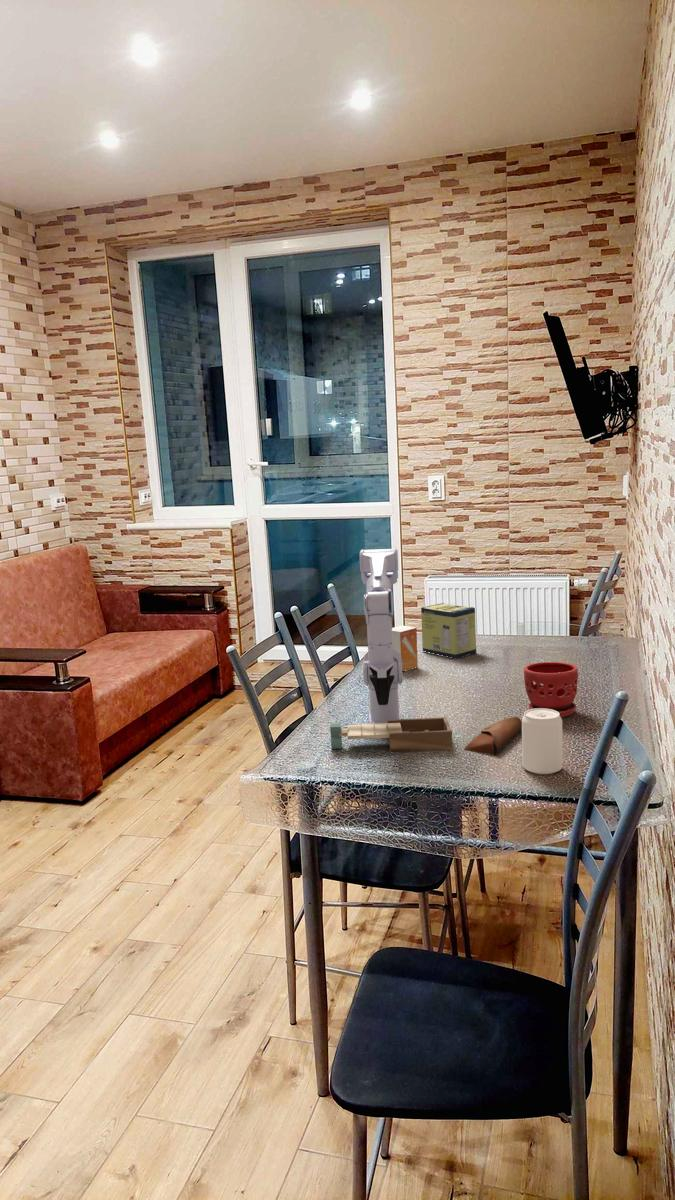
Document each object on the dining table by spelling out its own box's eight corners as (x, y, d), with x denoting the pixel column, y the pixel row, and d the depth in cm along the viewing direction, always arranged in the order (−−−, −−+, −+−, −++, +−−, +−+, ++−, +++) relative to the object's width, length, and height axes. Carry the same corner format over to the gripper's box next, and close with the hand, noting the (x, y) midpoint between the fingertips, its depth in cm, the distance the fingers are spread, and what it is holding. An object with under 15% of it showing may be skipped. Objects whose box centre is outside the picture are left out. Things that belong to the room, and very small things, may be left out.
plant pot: (584, 708, 204) (585, 663, 202) (567, 723, 194) (567, 675, 192) (535, 702, 212) (535, 658, 210) (516, 716, 201) (515, 670, 199)
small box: (401, 673, 246) (400, 632, 244) (386, 670, 251) (384, 629, 249) (418, 667, 252) (417, 627, 250) (403, 664, 256) (401, 624, 254)
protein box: (442, 646, 278) (441, 602, 275) (477, 653, 266) (476, 607, 264) (421, 652, 272) (419, 607, 269) (455, 659, 260) (454, 612, 257)
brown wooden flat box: (387, 737, 190) (387, 719, 190) (446, 734, 190) (446, 717, 190) (390, 752, 181) (389, 734, 180) (452, 750, 180) (451, 731, 180)
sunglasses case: (489, 725, 195) (502, 704, 192) (513, 743, 193) (527, 722, 190) (461, 750, 180) (475, 728, 177) (488, 769, 177) (502, 747, 175)
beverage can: (544, 779, 162) (544, 722, 160) (514, 768, 168) (513, 713, 166) (570, 768, 166) (570, 713, 164) (539, 758, 173) (539, 705, 171)
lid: (331, 740, 189) (330, 719, 189) (400, 737, 189) (399, 716, 188) (331, 752, 182) (330, 730, 181) (403, 749, 182) (402, 727, 181)
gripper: (362, 636, 192) (365, 691, 194) (362, 651, 177) (365, 709, 180) (392, 635, 191) (394, 689, 194) (394, 649, 177) (397, 708, 179)
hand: (382, 699), depth 187 cm, fingers open, 7 cm apart
